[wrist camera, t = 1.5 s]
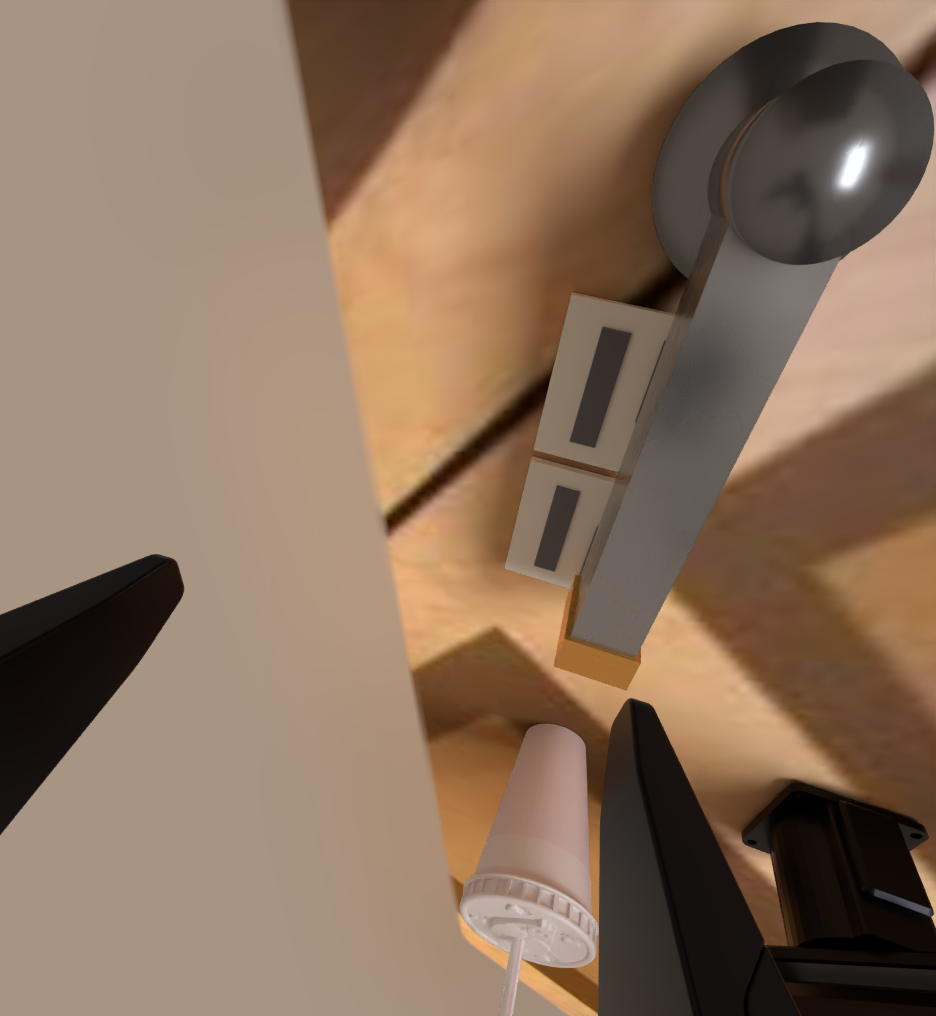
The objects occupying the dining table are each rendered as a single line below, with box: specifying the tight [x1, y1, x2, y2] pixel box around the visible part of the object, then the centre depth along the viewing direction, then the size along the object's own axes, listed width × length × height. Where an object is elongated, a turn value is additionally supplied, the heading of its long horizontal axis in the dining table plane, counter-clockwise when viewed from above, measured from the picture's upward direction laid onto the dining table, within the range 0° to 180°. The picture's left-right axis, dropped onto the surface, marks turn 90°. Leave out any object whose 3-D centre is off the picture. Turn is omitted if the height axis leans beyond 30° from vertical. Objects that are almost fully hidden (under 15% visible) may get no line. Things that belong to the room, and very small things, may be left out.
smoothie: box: [460, 724, 599, 1016], centre depth 25 cm, size 6×6×14 cm
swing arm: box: [554, 60, 934, 690], centre depth 15 cm, size 18×3×4 cm, turn 171°
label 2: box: [504, 456, 616, 589], centre depth 22 cm, size 6×6×1 cm
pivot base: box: [652, 22, 904, 279], centre depth 14 cm, size 6×6×1 cm
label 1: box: [533, 292, 676, 472], centre depth 18 cm, size 6×6×1 cm
